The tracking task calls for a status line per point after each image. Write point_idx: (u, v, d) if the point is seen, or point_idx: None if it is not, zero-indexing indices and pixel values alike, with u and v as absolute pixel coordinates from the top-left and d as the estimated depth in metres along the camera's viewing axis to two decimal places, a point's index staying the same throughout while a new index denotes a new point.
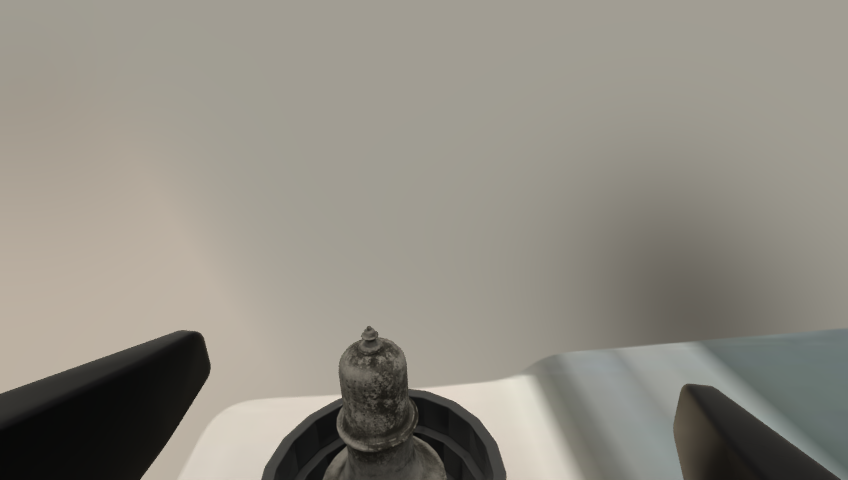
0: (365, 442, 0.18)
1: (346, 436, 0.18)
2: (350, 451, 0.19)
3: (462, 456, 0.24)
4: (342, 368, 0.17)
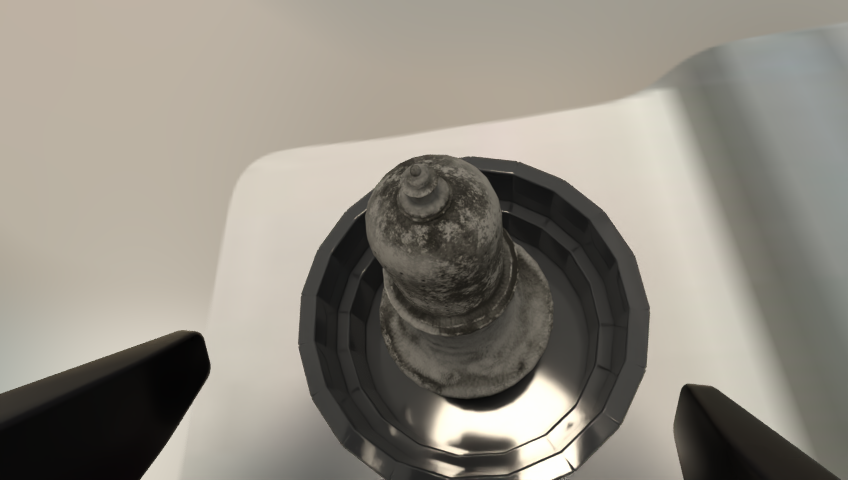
0: (434, 324, 0.11)
1: (402, 308, 0.11)
2: None
3: (570, 248, 0.17)
4: (372, 241, 0.09)
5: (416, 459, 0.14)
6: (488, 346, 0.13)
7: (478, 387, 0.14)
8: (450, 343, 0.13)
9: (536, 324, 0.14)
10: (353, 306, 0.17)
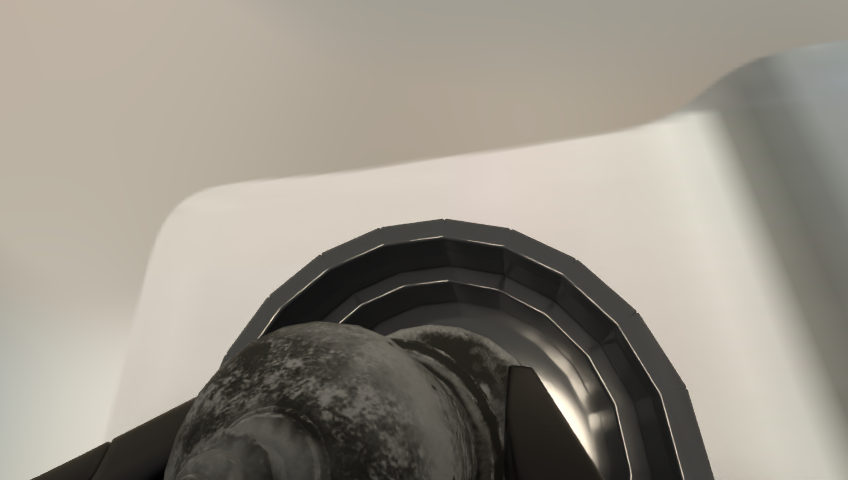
0: None
1: None
2: None
3: (584, 347, 0.12)
4: None
5: None
6: None
7: None
8: None
9: None
10: None
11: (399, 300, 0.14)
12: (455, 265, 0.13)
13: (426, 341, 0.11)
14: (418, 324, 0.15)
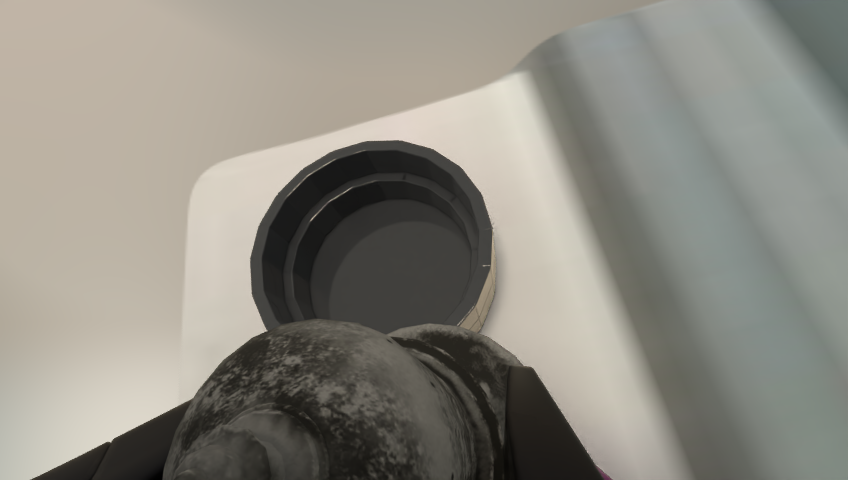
0: None
1: None
2: None
3: (449, 199, 0.22)
4: None
5: None
6: None
7: None
8: None
9: None
10: (294, 267, 0.23)
11: (351, 199, 0.24)
12: (378, 171, 0.24)
13: (426, 340, 0.11)
14: (365, 215, 0.25)
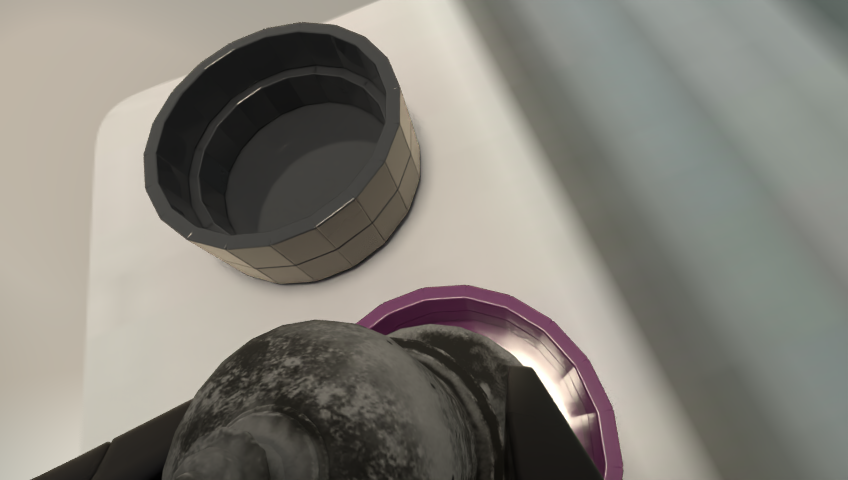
0: None
1: None
2: None
3: (362, 84, 0.21)
4: None
5: None
6: None
7: None
8: None
9: None
10: (202, 173, 0.21)
11: (262, 103, 0.23)
12: (287, 67, 0.22)
13: (426, 340, 0.11)
14: (282, 124, 0.24)
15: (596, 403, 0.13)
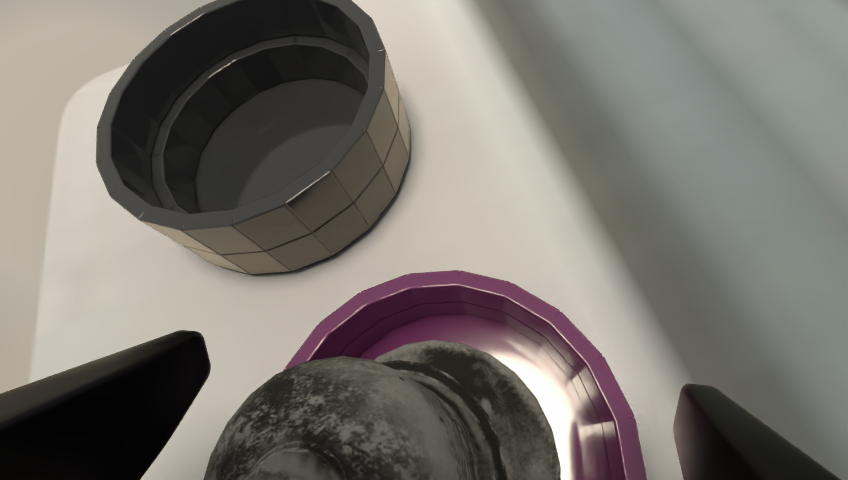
0: None
1: None
2: None
3: (346, 54, 0.19)
4: None
5: None
6: None
7: None
8: None
9: None
10: (167, 151, 0.19)
11: (238, 77, 0.21)
12: (264, 37, 0.20)
13: (430, 356, 0.11)
14: (260, 101, 0.22)
15: (614, 410, 0.11)
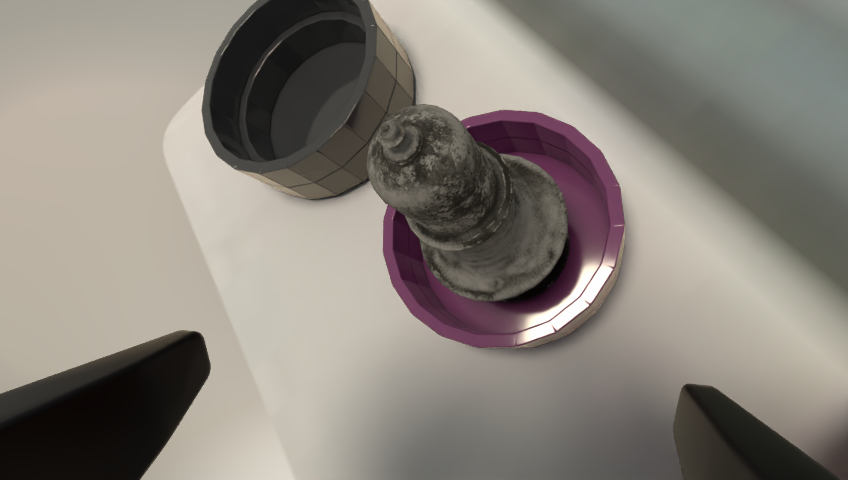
0: (457, 242, 0.13)
1: (429, 239, 0.13)
2: None
3: (341, 17, 0.25)
4: (379, 193, 0.11)
5: None
6: (516, 248, 0.15)
7: (521, 284, 0.16)
8: (483, 255, 0.15)
9: (552, 216, 0.16)
10: (250, 137, 0.26)
11: (273, 69, 0.27)
12: (280, 31, 0.26)
13: None
14: (293, 81, 0.28)
15: (587, 152, 0.16)
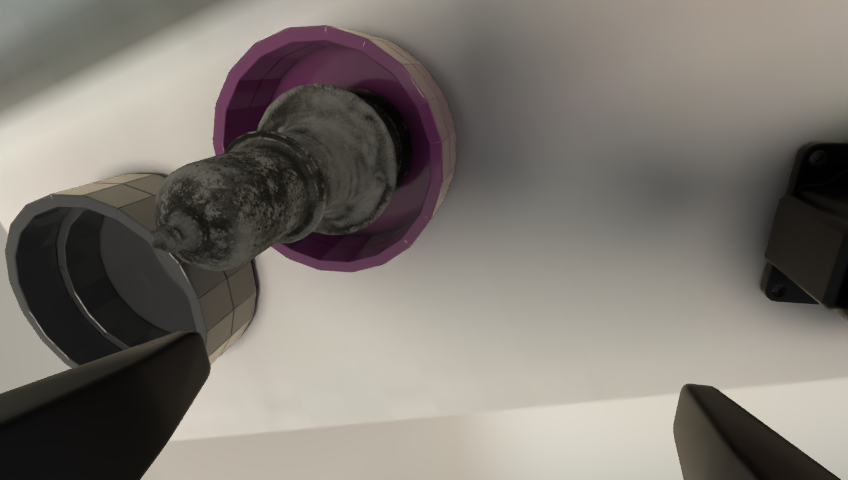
0: (316, 205, 0.13)
1: (306, 229, 0.14)
2: None
3: (68, 225, 0.23)
4: (232, 266, 0.11)
5: None
6: (350, 148, 0.16)
7: (387, 156, 0.16)
8: (345, 182, 0.15)
9: (333, 101, 0.16)
10: None
11: (105, 311, 0.26)
12: (64, 291, 0.25)
13: None
14: (127, 294, 0.27)
15: (284, 41, 0.16)
